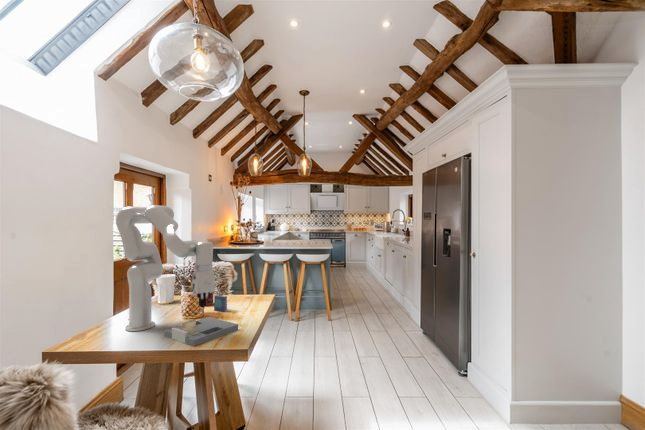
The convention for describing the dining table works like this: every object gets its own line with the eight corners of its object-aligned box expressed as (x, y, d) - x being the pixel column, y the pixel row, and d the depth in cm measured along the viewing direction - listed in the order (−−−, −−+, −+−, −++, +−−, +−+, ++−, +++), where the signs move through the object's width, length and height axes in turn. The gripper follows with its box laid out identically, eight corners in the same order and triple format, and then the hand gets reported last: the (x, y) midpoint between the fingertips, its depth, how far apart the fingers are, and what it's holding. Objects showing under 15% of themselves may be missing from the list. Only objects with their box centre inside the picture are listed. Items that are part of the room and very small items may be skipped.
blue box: (227, 311, 182) (227, 292, 182) (224, 312, 179) (224, 293, 179) (216, 309, 186) (216, 291, 186) (212, 310, 184) (212, 292, 184)
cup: (178, 300, 208) (178, 274, 208) (171, 304, 197) (171, 277, 197) (160, 300, 207) (160, 274, 207) (152, 305, 196) (152, 277, 196)
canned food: (209, 306, 191) (209, 288, 192) (197, 306, 193) (197, 288, 193) (215, 303, 199) (215, 286, 199) (204, 302, 201) (204, 285, 201)
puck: (178, 333, 140) (178, 321, 140) (191, 329, 144) (191, 318, 144) (185, 336, 136) (185, 324, 136) (198, 332, 140) (198, 321, 140)
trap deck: (164, 335, 143) (164, 325, 143) (209, 321, 163) (209, 312, 163) (193, 346, 131) (193, 335, 131) (238, 329, 151) (238, 320, 151)
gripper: (194, 270, 140) (193, 311, 140) (221, 267, 153) (220, 304, 152) (184, 268, 144) (183, 308, 144) (212, 265, 157) (210, 302, 157)
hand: (202, 306), depth 148 cm, fingers closed
